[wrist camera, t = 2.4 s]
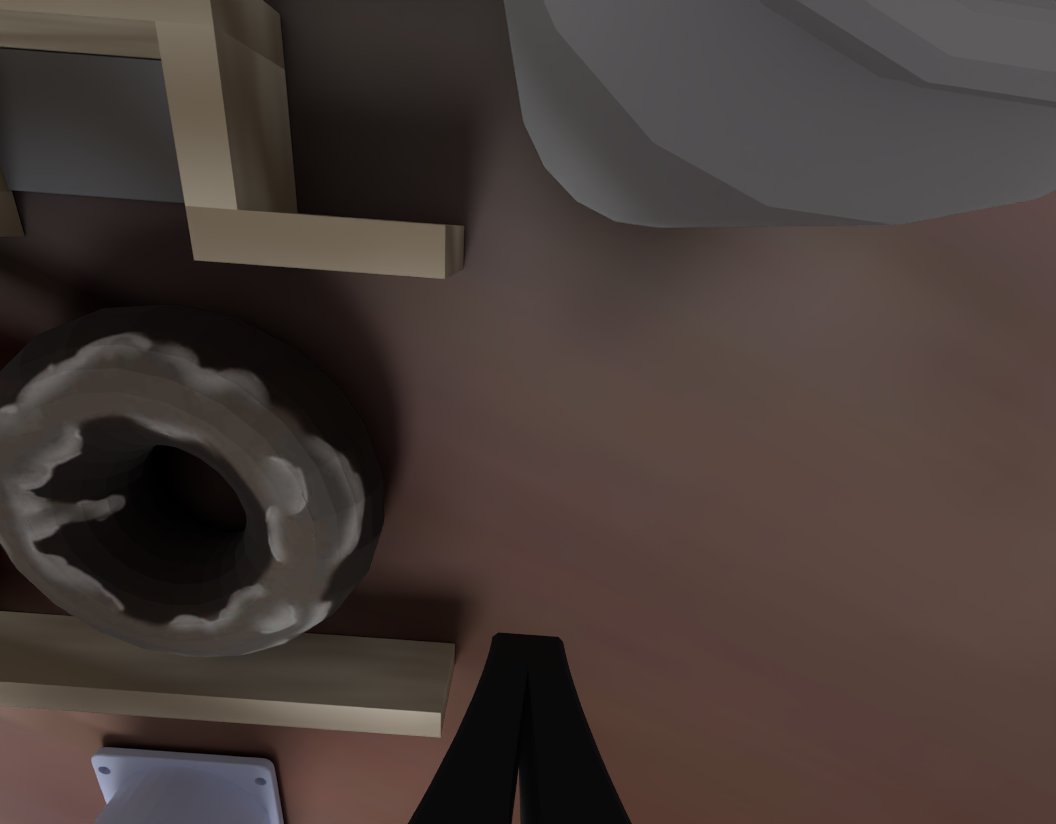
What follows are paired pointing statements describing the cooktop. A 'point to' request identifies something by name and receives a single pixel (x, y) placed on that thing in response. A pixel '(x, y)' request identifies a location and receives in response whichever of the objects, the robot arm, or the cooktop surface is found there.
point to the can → (789, 107)
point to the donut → (144, 510)
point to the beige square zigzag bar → (216, 235)
